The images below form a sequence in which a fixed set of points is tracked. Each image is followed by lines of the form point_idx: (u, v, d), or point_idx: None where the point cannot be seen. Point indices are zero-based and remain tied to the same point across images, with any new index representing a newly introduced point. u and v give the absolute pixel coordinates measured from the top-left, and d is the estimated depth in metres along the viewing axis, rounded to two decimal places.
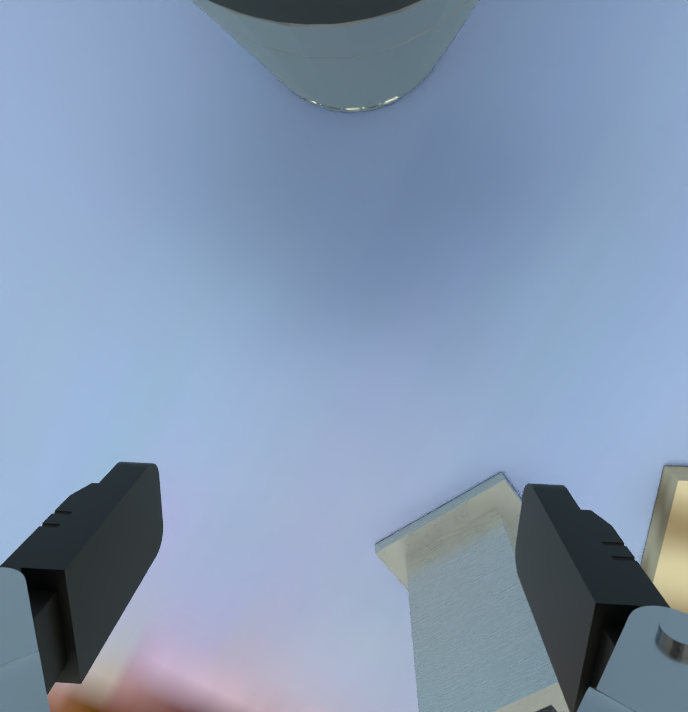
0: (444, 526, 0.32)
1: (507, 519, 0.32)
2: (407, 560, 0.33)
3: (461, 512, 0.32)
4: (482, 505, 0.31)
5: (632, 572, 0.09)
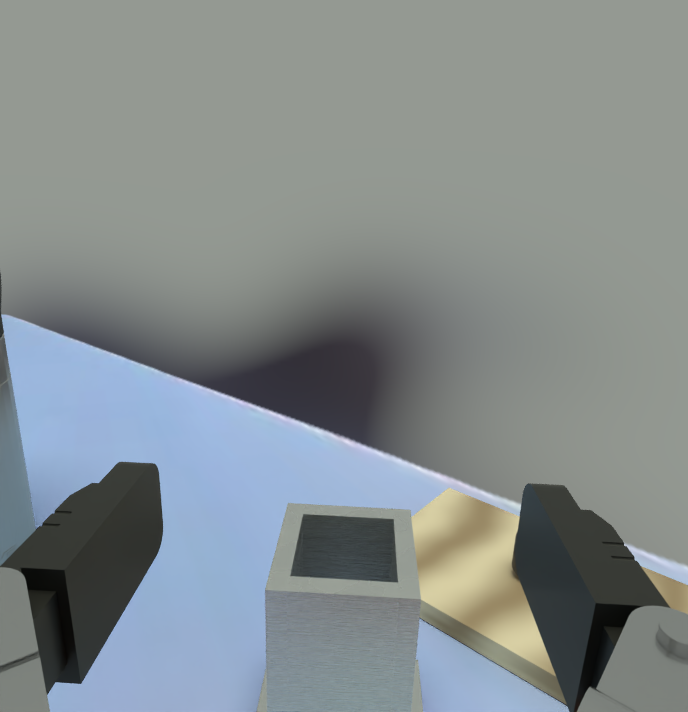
0: None
1: None
2: None
3: None
4: None
5: (632, 572, 0.09)
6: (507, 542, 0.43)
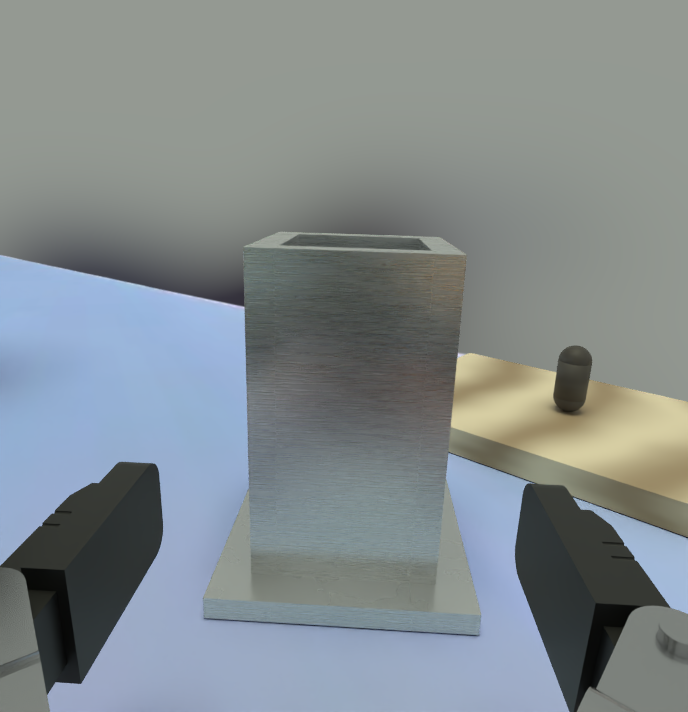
0: None
1: None
2: (252, 563, 0.19)
3: None
4: None
5: (632, 572, 0.09)
6: (544, 388, 0.36)
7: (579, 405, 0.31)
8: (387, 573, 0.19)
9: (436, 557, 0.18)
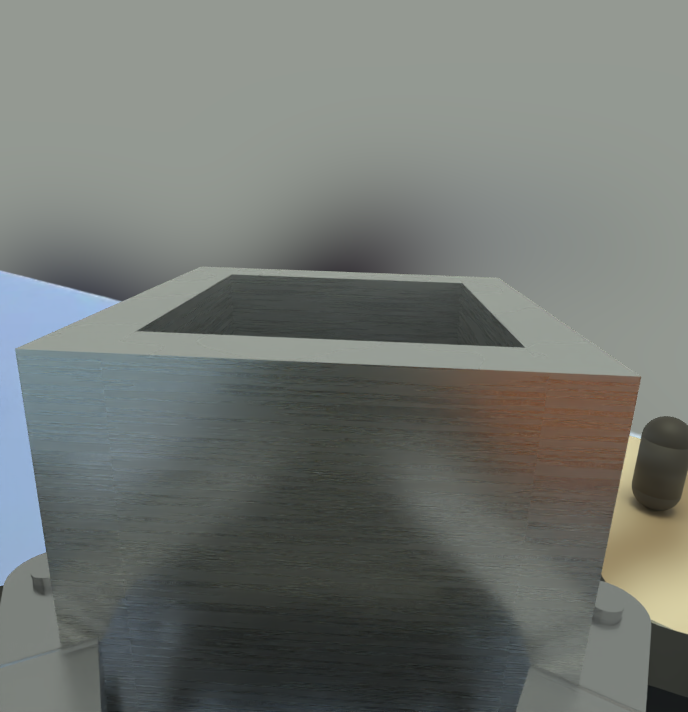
0: None
1: None
2: None
3: None
4: None
5: None
6: None
7: (673, 504, 0.21)
8: None
9: None
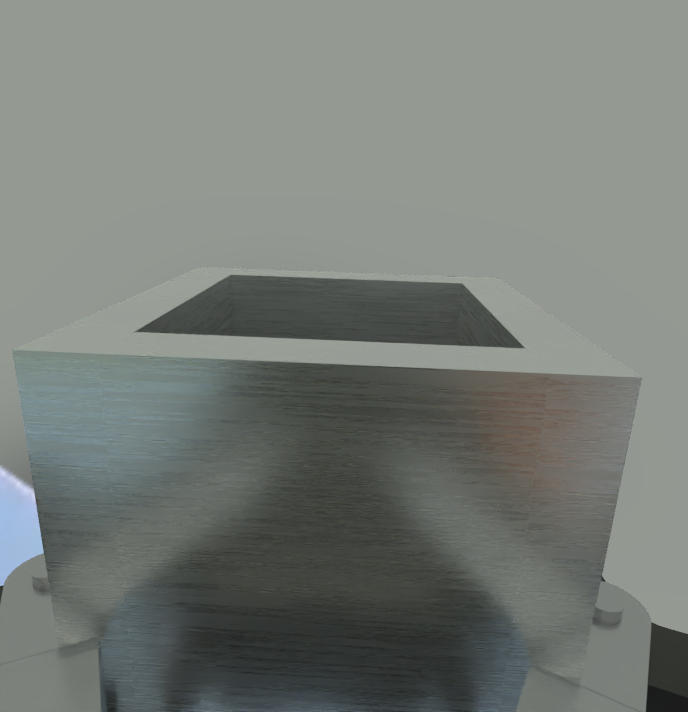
0: None
1: None
2: None
3: None
4: None
5: None
6: None
7: None
8: None
9: None
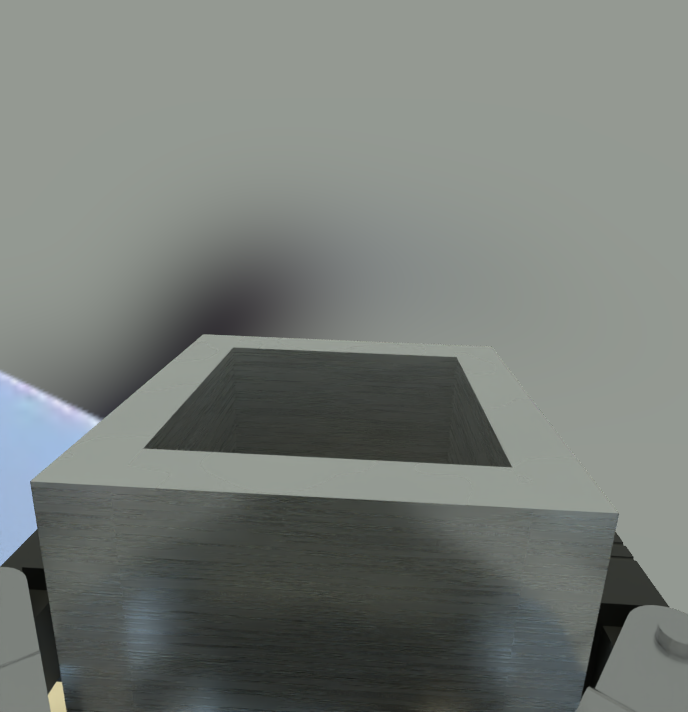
0: None
1: None
2: None
3: None
4: None
5: (631, 572, 0.09)
6: None
7: None
8: None
9: None
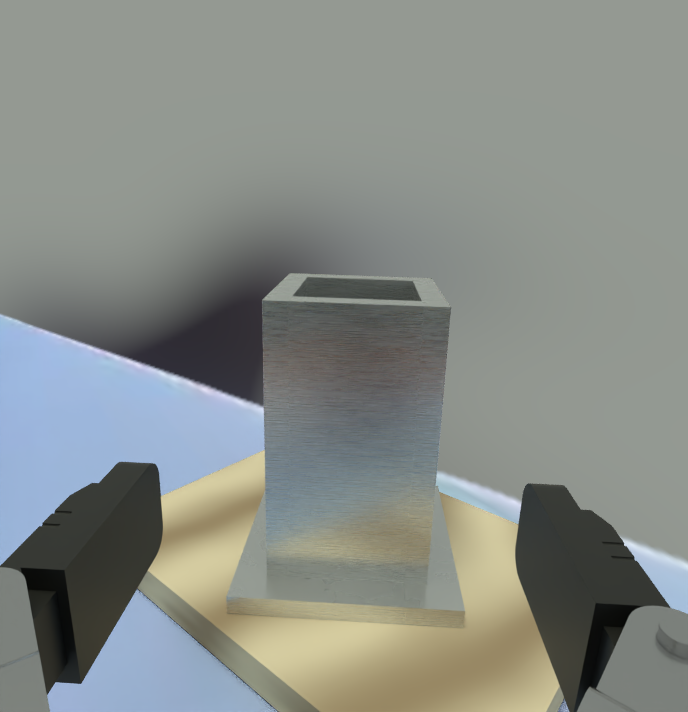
0: None
1: None
2: (267, 566, 0.22)
3: None
4: None
5: (632, 572, 0.09)
6: None
7: None
8: (384, 575, 0.21)
9: (427, 561, 0.21)
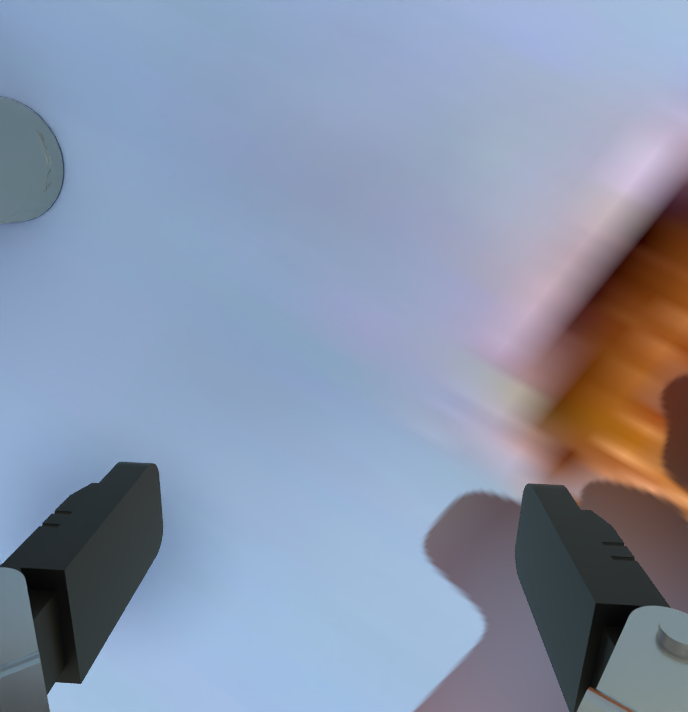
0: None
1: None
2: None
3: None
4: None
5: (632, 572, 0.09)
6: None
7: None
8: None
9: None
